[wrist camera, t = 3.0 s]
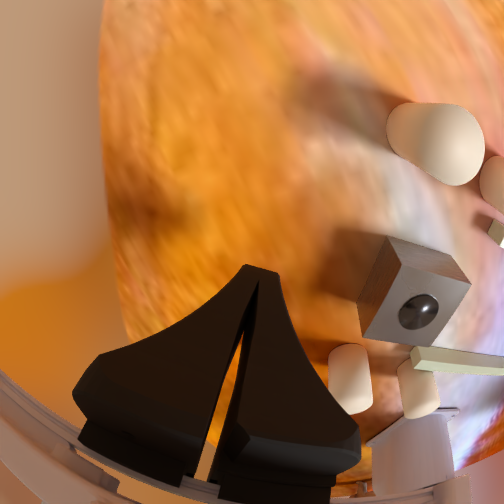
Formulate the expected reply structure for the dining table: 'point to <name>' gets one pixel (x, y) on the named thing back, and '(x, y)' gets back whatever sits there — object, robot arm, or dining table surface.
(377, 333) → the push button box
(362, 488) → the lion figurine
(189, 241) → the dining table surface
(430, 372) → the posts
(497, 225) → the frame
